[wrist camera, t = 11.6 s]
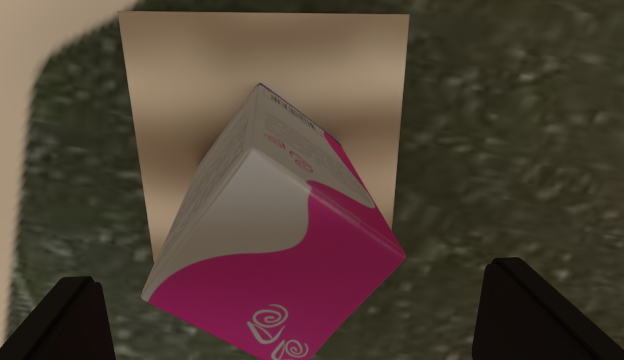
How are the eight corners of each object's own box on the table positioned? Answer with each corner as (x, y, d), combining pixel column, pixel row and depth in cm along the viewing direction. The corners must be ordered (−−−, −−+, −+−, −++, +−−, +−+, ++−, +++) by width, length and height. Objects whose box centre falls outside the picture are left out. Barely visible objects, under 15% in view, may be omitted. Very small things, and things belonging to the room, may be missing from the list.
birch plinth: (371, 225, 30) (389, 258, 25) (171, 234, 28) (155, 270, 24) (384, 16, 25) (409, 14, 21) (143, 14, 23) (117, 11, 19)
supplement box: (194, 168, 22) (129, 299, 11) (259, 79, 21) (256, 133, 10) (280, 225, 24) (294, 385, 13) (345, 145, 23) (419, 251, 12)
